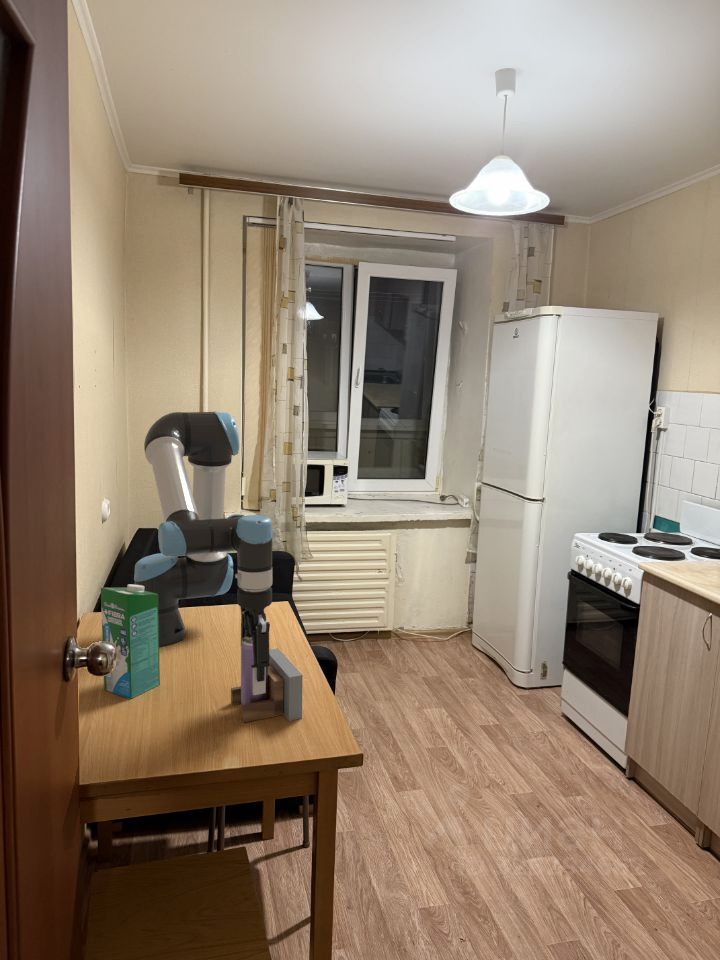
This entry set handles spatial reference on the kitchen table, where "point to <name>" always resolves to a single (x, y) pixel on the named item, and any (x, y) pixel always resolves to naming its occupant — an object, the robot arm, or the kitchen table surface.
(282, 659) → the backstop
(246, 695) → the beverage can
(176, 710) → the kitchen table surface
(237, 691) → the bracket
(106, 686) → the milk carton
